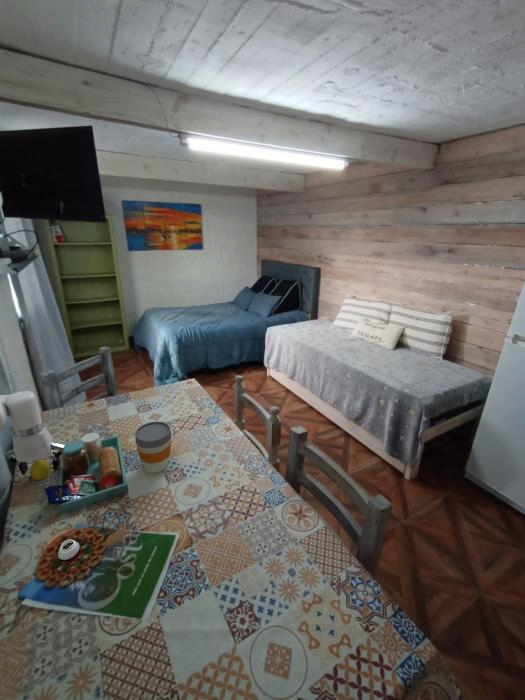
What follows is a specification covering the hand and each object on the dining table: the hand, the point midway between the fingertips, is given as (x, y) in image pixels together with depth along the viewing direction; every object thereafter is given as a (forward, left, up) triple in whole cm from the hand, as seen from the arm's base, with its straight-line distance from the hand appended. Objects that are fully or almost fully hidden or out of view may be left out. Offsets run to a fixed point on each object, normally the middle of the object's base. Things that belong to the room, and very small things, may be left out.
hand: (41, 469), depth 109 cm
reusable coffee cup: (+38, 0, -4) cm, 38 cm away
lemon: (0, 0, -4) cm, 4 cm away
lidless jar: (+17, -31, -4) cm, 36 cm away
